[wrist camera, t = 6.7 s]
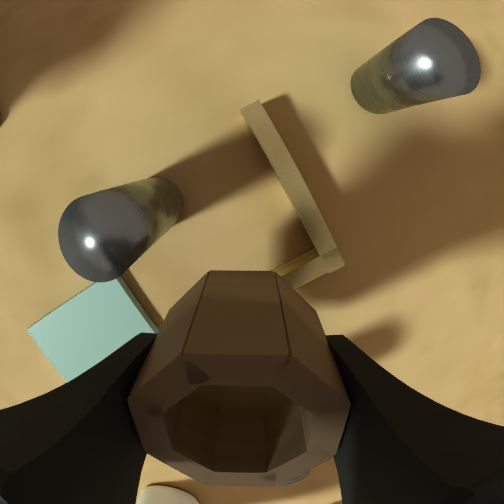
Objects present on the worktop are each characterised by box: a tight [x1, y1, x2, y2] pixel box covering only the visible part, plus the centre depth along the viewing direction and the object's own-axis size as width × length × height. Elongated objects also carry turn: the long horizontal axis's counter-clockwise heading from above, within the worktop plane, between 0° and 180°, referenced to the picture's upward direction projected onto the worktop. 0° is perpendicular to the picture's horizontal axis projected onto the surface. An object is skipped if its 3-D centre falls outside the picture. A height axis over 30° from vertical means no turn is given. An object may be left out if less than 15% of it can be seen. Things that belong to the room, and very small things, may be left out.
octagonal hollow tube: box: [127, 270, 351, 486], centre depth 9 cm, size 5×5×4 cm
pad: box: [27, 276, 159, 382], centre depth 16 cm, size 8×8×1 cm
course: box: [58, 18, 481, 485], centre depth 11 cm, size 14×15×6 cm
